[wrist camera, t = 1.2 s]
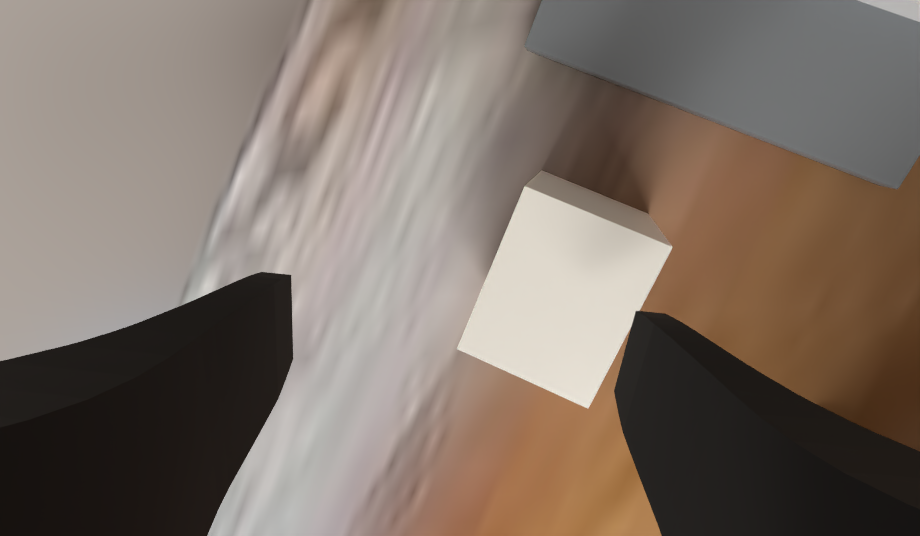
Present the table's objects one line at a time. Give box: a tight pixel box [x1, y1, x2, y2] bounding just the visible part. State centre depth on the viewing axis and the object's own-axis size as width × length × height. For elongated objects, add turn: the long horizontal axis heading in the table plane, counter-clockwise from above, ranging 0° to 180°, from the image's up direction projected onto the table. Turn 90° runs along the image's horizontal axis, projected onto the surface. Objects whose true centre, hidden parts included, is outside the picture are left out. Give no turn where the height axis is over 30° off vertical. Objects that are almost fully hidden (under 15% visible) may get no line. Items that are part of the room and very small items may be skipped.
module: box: [457, 170, 673, 408], centre depth 17 cm, size 4×5×6 cm
